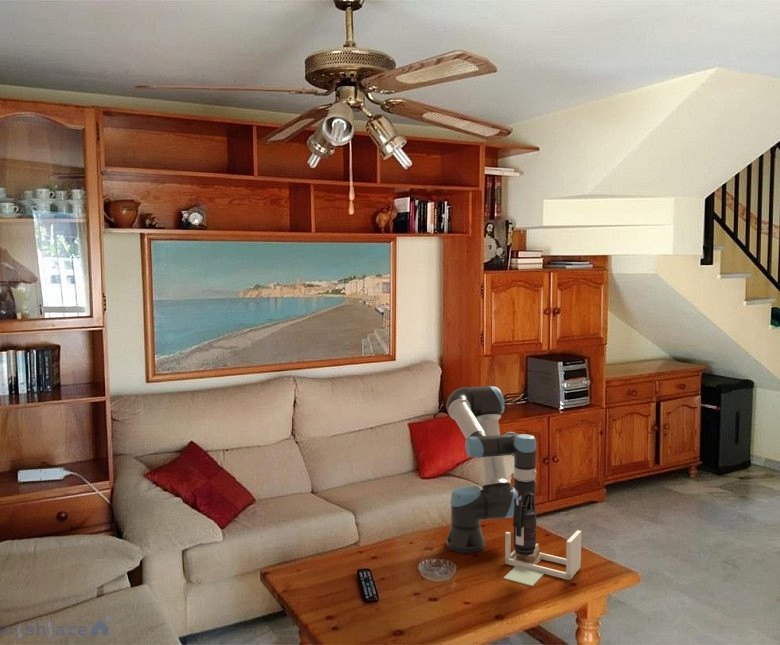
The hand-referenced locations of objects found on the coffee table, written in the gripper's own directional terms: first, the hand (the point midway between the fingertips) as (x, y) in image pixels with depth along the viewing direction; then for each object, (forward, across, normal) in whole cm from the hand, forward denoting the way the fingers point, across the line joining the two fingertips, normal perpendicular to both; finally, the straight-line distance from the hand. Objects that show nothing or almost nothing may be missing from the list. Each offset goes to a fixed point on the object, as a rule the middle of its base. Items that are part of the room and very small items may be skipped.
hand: (524, 540), depth 251 cm
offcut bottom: (+14, +12, +4) cm, 19 cm away
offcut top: (+9, +12, +4) cm, 16 cm away
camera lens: (+4, 0, 0) cm, 4 cm away
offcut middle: (+12, +12, +4) cm, 17 cm away
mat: (+14, 0, 0) cm, 14 cm away
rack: (+14, +12, -2) cm, 18 cm away
